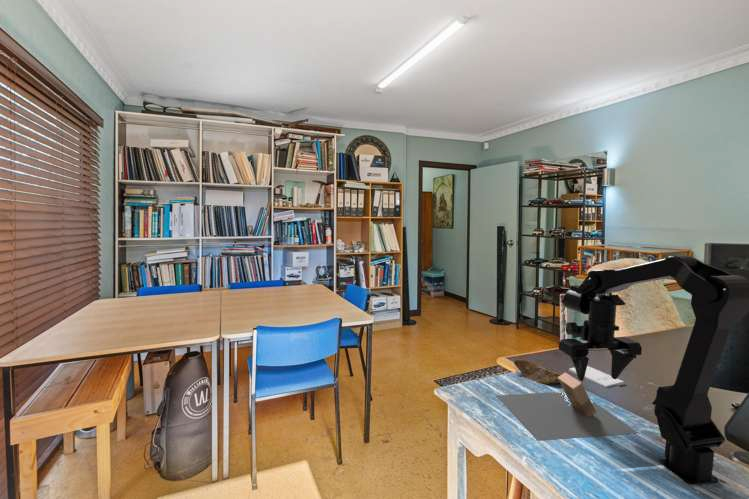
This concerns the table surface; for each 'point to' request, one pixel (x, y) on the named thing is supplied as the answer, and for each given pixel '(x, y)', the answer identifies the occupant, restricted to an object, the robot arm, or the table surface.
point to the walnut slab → (576, 394)
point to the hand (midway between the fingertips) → (597, 379)
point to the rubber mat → (561, 417)
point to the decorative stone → (536, 372)
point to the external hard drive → (599, 377)
